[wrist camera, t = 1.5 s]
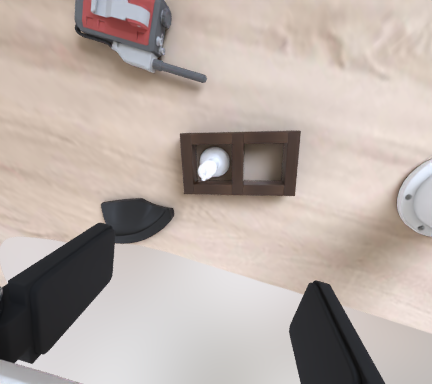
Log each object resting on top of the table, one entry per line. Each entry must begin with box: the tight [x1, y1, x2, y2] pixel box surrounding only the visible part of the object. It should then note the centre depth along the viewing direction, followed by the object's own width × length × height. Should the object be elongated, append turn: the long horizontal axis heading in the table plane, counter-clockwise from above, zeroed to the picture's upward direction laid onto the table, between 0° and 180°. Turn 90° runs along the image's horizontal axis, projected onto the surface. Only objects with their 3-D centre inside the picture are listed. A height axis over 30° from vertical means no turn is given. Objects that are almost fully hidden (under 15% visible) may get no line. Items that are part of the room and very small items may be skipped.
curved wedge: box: [101, 198, 174, 244], centre depth 38 cm, size 8×14×2 cm, turn 96°
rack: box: [180, 131, 301, 196], centre depth 31 cm, size 17×9×3 cm, turn 91°
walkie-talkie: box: [75, 0, 207, 83], centre depth 27 cm, size 9×4×20 cm
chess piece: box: [198, 147, 230, 181], centre depth 28 cm, size 5×5×10 cm
